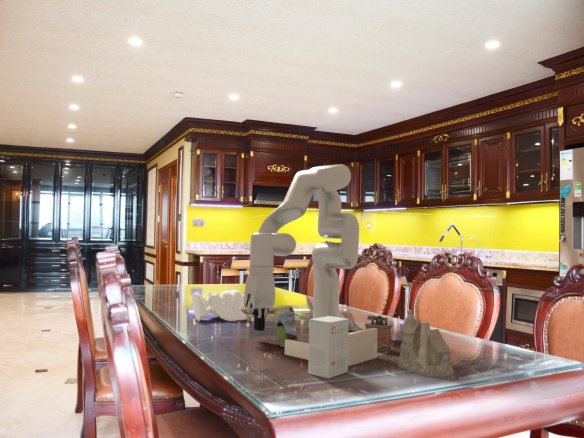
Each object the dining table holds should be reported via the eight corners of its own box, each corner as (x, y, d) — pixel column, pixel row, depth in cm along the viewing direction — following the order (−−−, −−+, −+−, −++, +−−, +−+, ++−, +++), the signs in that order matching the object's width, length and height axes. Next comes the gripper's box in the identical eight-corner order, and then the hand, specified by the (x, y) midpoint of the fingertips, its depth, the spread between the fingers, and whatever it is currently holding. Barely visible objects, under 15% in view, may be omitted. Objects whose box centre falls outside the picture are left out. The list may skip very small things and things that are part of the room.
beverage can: (295, 349, 143) (296, 307, 144) (270, 347, 145) (272, 306, 145) (299, 345, 149) (300, 305, 150) (275, 343, 151) (276, 304, 151)
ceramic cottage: (426, 377, 116) (429, 313, 117) (386, 364, 131) (388, 307, 132) (476, 376, 122) (478, 315, 124) (432, 363, 137) (434, 309, 139)
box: (320, 346, 148) (321, 319, 149) (376, 357, 136) (377, 328, 136) (284, 354, 136) (285, 325, 136) (342, 367, 123) (343, 335, 124)
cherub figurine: (189, 291, 196) (237, 285, 205) (191, 322, 196) (239, 315, 204) (198, 294, 184) (248, 287, 193) (200, 327, 184) (250, 319, 193)
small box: (327, 367, 123) (328, 315, 124) (348, 372, 119) (349, 318, 120) (307, 373, 117) (308, 318, 117) (328, 379, 113) (330, 322, 113)
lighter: (392, 349, 147) (392, 315, 147) (390, 351, 144) (391, 317, 144) (365, 346, 150) (366, 313, 150) (363, 349, 146) (363, 315, 147)
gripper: (269, 270, 163) (267, 326, 162) (235, 271, 152) (233, 331, 151) (285, 271, 158) (283, 329, 157) (252, 272, 147) (250, 334, 146)
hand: (259, 330), depth 154 cm, fingers closed
